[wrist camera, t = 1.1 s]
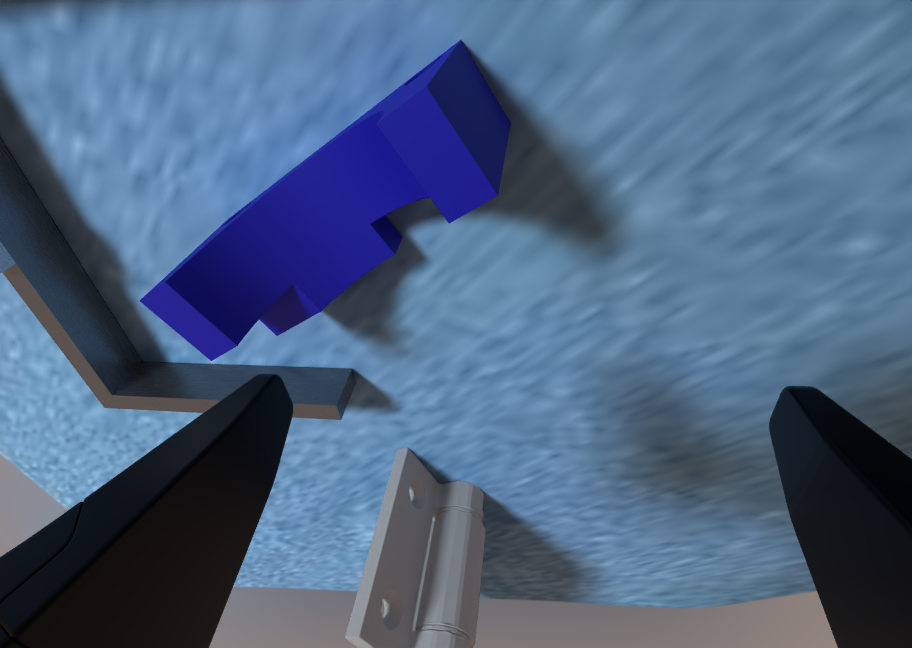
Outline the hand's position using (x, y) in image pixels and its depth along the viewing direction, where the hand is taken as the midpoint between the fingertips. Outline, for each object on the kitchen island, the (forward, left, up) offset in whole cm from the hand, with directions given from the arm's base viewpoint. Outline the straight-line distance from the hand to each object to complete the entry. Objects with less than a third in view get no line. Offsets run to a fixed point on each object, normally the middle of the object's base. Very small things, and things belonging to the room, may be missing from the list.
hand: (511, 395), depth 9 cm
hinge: (+6, +23, -11) cm, 27 cm away
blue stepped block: (+6, +1, -12) cm, 13 cm away
